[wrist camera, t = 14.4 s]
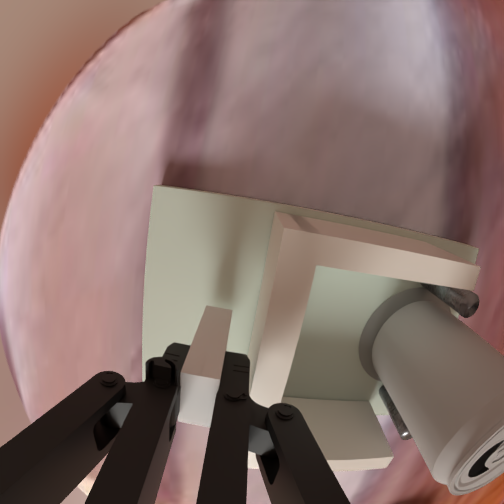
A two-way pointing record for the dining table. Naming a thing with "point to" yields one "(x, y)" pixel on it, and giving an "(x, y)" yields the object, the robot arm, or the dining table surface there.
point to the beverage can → (445, 393)
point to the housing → (293, 310)
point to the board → (249, 284)
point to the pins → (462, 304)
